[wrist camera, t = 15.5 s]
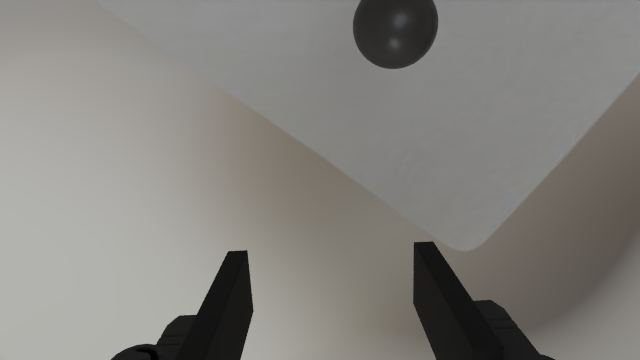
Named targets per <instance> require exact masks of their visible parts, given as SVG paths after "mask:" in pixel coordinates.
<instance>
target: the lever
mask: <svg viewBox="0 0 640 360" xmlns="http://www.w3.org/2000/svg"><path fill="white" fill-rule="evenodd" d="M437 29H438V15H437V10H436V6H435V4H434V2H433V0H361V1H360V3H359V5H358V7H357V9H356V12H355V16H354V20H353V34H354V39H355V42H356V44H357V46H358V49H359V50H360V52H361V53H362V54H363V56H364V57H365V58H366V59H367V60H369V61H370V62H371V63H373V64H375V65H377V66H379V67H382V68H387V69H398V68H403V67H407V66H409V65H411V64H414V63H415V62H417V61H418V60H419V59H421V58H422V57H423V56H424V55H425V54H426V53H427V52H428V50H429V49H430V47H431V46H432V44H433V42H434V40H435V37H436V34H437Z"/></svg>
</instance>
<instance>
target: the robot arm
mask: <svg viewBox="0 0 640 360" xmlns="http://www.w3.org/2000/svg"><path fill="white" fill-rule="evenodd" d="M413 293H414V294H413V296H414V297H413V304H414V306H415V308H416V311H417V313H418V316H419V318H420V321H421V323H422V326H423V328H424V330H425V333H426V335H427V338H428V340H429V342H430V345H431V347H432V350H433V352H434V355H435V357H436V360H555V359H553V358H551V357H548V356H545V355H541V354H539V353H538V351H537V350H536V349H535V348H534V346H533V345H532V344H531V343H530V341H529V340H528V339H527V337H526V336H525V335H524V334H523V332H522V331H521V330H520V329H519V328H518V326H517V325H516V323H515V322H514V321H513V320H512V319H511V317H510V316H509V314H508V313H507V312H506V311H505V309H504V308H502V307H501V306H499V305H498V304H496V303H494V302H493V301H491V300H481V301H473V300H472V299H471V297H470V296H469V294H468V293H467V292H466V290H465V288H464V287H463V285H462V284H461V282H460V281H459V279H458V278H457V276H456V275H455V273H454V272H453V270H452V269H451V268H450V266H449V265H448V263H447V262H446V260H445V259H444V257H443V256H442V254H441V253H440V251H439V250H438V248H437V247H436V245H435V244H434V242H414V292H413ZM252 314H253V303H252V293H251V283H250V273H249V264H248V253H247V250H246V251H229V252H228V253H227V255H226V257H225V259H224V261H223V263H222V265H221V267H220V269H219V271H218V273H217V275H216V277H215V280H214V281H213V283H212V285H211V287H210V289H209V291H208V293H207V295H206V297H205V300H204V301H203V303H202V305H201V307H200V309H199V312H198V313H197V315H184V316H178V317H177V318H176V319H174V320H173V321H172V322H171V323H170V324H168V325H167V327H166V329H165V330H164V332H163V334H162V335H161V338H160V339H159V340H158V342H157V344H156V345H152V344H143V345H136V346H133V347H130V348H127V349H125V350H123V351H122V352H120V353H118V354H116V355H115V356H114V357H113V358H112V359H111V360H240V358H241V355H242V351H243V348H244V344H245V340H246V336H247V333H248V329H249V325H250V322H251V318H252Z"/></svg>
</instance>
